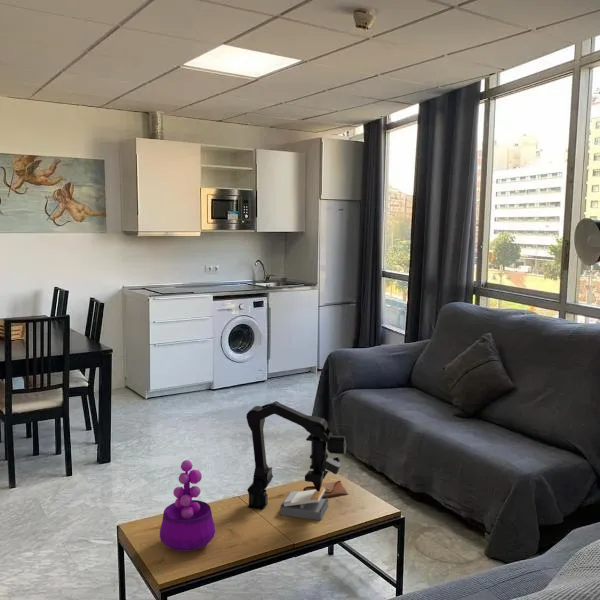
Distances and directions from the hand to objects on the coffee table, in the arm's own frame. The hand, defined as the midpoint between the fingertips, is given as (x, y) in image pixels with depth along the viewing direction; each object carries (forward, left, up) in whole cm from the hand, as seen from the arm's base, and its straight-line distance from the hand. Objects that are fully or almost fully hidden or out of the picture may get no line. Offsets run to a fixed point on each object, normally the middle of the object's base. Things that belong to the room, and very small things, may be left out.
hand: (318, 491), depth 232 cm
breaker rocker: (-5, 0, -3) cm, 6 cm away
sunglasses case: (-1, +17, -9) cm, 19 cm away
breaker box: (-5, 0, -9) cm, 10 cm away
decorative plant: (-37, -36, -9) cm, 53 cm away
